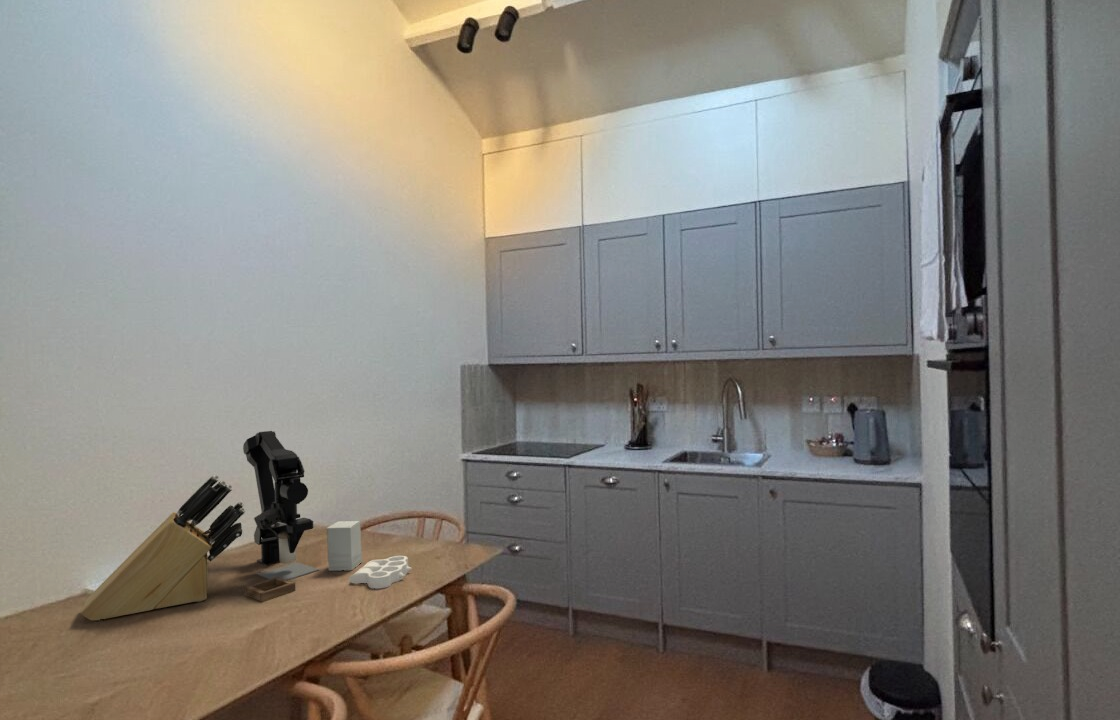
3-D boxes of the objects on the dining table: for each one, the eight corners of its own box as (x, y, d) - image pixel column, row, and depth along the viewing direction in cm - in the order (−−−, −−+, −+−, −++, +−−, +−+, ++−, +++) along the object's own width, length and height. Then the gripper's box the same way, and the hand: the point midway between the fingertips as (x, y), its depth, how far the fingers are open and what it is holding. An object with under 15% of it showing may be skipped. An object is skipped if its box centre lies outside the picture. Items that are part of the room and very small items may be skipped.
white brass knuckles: (371, 567, 180) (419, 567, 178) (344, 590, 162) (397, 590, 161) (371, 555, 180) (419, 555, 178) (343, 577, 162) (396, 577, 161)
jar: (276, 561, 176) (275, 533, 176) (291, 557, 179) (290, 529, 179) (284, 564, 173) (283, 536, 173) (299, 559, 177) (298, 532, 177)
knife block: (248, 593, 161) (244, 476, 161) (80, 626, 143) (75, 494, 143) (246, 581, 170) (242, 470, 171) (88, 610, 153) (84, 486, 153)
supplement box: (362, 562, 183) (361, 520, 183) (351, 571, 176) (350, 527, 176) (339, 562, 184) (337, 520, 184) (327, 571, 176) (325, 527, 176)
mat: (257, 575, 175) (257, 574, 175) (296, 563, 185) (296, 562, 185) (279, 583, 168) (279, 581, 168) (319, 570, 177) (319, 569, 177)
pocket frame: (245, 594, 160) (245, 587, 160) (278, 584, 167) (277, 576, 167) (262, 601, 155) (262, 593, 155) (295, 590, 162) (295, 583, 162)
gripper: (241, 499, 175) (243, 553, 175) (275, 507, 164) (277, 565, 164) (279, 492, 184) (281, 543, 184) (313, 499, 173) (315, 554, 173)
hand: (287, 551), depth 176 cm, fingers closed on jar, 4 cm apart
